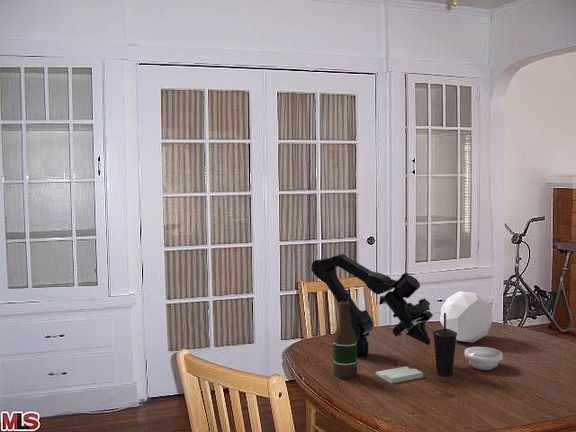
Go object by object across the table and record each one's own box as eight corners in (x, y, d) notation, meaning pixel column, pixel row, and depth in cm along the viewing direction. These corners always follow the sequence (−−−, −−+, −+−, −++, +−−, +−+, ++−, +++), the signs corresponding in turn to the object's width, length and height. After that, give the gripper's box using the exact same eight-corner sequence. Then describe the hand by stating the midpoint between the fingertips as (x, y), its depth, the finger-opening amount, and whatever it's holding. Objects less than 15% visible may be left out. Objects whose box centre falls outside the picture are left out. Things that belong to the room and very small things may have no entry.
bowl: (473, 373, 181) (473, 358, 181) (459, 361, 193) (459, 346, 193) (509, 372, 182) (509, 356, 182) (492, 360, 194) (493, 345, 194)
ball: (463, 353, 224) (472, 307, 233) (499, 348, 207) (507, 299, 215) (424, 333, 220) (435, 288, 228) (458, 326, 202) (469, 277, 211)
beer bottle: (331, 371, 186) (330, 299, 184) (354, 370, 187) (354, 298, 185) (335, 379, 178) (334, 305, 177) (359, 378, 179) (359, 304, 177)
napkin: (391, 383, 174) (391, 378, 174) (375, 374, 182) (375, 369, 182) (423, 377, 179) (423, 372, 179) (406, 368, 187) (406, 364, 187)
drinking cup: (458, 378, 177) (458, 316, 176) (433, 377, 179) (433, 315, 177) (455, 370, 185) (456, 310, 183) (431, 369, 186) (432, 309, 185)
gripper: (400, 296, 180) (432, 336, 174) (427, 287, 194) (458, 323, 188) (379, 317, 186) (409, 356, 179) (407, 307, 200) (436, 342, 193)
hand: (429, 344), depth 185 cm, fingers closed
